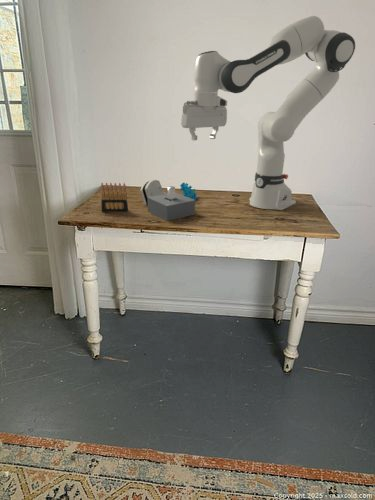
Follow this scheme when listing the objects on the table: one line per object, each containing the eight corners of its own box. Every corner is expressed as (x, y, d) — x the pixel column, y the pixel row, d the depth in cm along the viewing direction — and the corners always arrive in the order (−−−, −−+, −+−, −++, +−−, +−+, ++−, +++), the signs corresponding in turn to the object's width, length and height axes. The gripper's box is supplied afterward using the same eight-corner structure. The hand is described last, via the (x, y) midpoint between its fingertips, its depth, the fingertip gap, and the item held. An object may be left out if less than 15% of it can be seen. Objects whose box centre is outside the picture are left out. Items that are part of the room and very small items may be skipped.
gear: (190, 200, 155) (178, 182, 156) (181, 207, 158) (170, 189, 159) (202, 197, 164) (190, 180, 165) (193, 205, 167) (182, 188, 168)
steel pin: (172, 209, 145) (172, 185, 141) (176, 211, 143) (176, 187, 139) (166, 210, 143) (166, 186, 139) (170, 212, 141) (170, 188, 137)
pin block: (174, 205, 152) (174, 192, 150) (194, 214, 142) (195, 200, 140) (147, 211, 144) (147, 197, 142) (166, 220, 134) (166, 206, 132)
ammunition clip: (101, 211, 142) (99, 183, 137) (102, 210, 144) (100, 182, 139) (127, 211, 143) (126, 183, 138) (128, 210, 145) (126, 182, 140)
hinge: (154, 206, 151) (147, 184, 148) (145, 208, 153) (137, 186, 150) (167, 196, 166) (160, 176, 162) (158, 198, 167) (152, 178, 164)
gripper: (188, 101, 120) (187, 142, 126) (230, 101, 132) (227, 138, 138) (178, 100, 125) (177, 140, 131) (219, 100, 136) (217, 137, 142)
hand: (203, 139), depth 134 cm, fingers open, 8 cm apart
